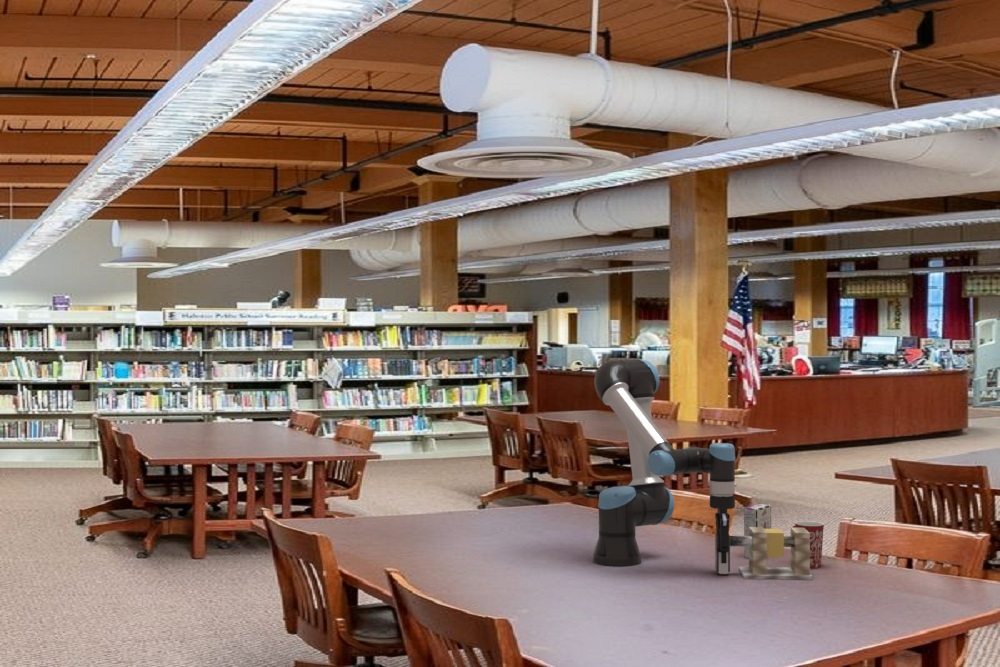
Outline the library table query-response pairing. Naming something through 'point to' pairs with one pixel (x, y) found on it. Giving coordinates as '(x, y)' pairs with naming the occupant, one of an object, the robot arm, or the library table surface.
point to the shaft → (743, 545)
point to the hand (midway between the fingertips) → (722, 571)
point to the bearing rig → (761, 571)
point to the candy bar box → (756, 519)
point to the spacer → (775, 543)
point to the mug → (813, 540)
